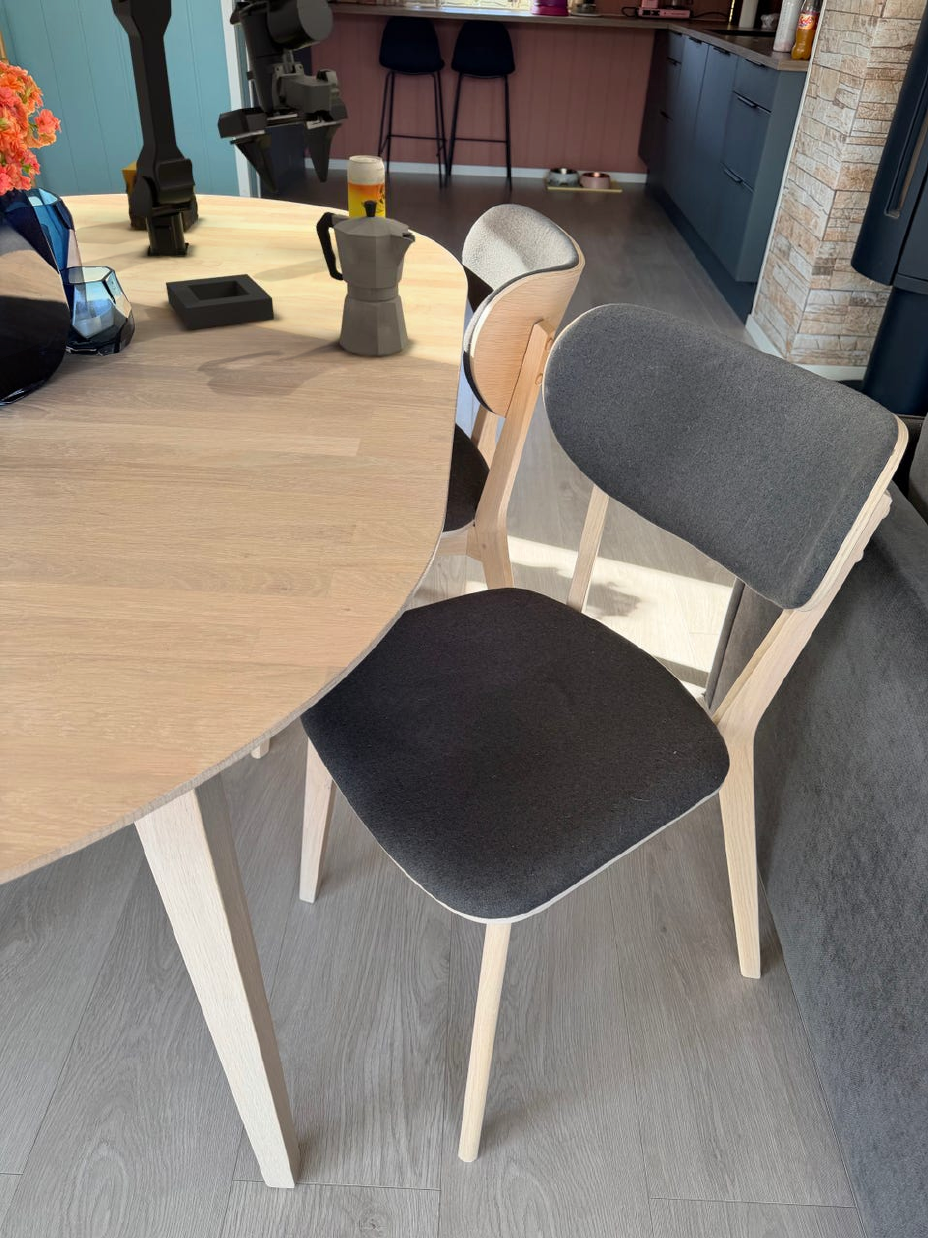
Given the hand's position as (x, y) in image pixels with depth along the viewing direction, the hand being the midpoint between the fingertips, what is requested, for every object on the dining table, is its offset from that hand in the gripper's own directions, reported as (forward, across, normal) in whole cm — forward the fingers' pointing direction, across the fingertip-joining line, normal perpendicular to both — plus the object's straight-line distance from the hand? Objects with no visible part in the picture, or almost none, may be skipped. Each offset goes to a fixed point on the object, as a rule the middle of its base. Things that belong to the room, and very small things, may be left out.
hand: (299, 187), depth 126 cm
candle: (+3, +10, +52) cm, 53 cm away
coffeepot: (+20, -7, -15) cm, 26 cm away
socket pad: (+14, -13, +8) cm, 20 cm away
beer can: (+12, +23, +14) cm, 30 cm away
